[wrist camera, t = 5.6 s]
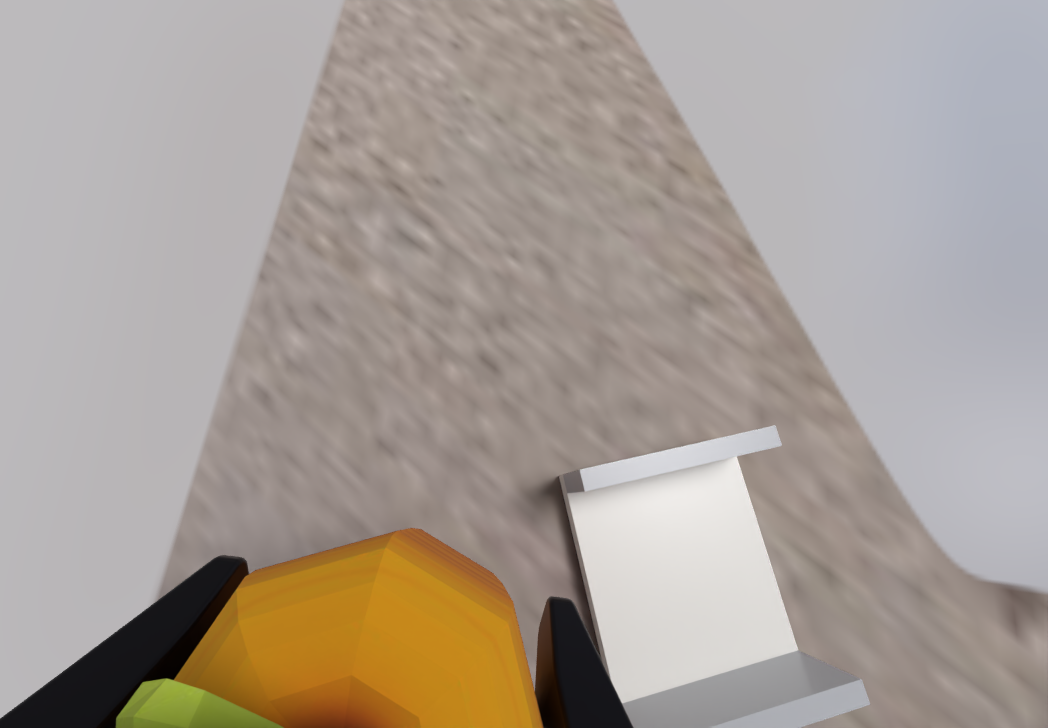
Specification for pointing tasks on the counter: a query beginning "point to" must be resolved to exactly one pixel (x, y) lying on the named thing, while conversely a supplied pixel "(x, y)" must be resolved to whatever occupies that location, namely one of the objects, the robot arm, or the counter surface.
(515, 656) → the carrot
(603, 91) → the counter surface
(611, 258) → the counter surface
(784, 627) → the white railed tray
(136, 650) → the robot arm
